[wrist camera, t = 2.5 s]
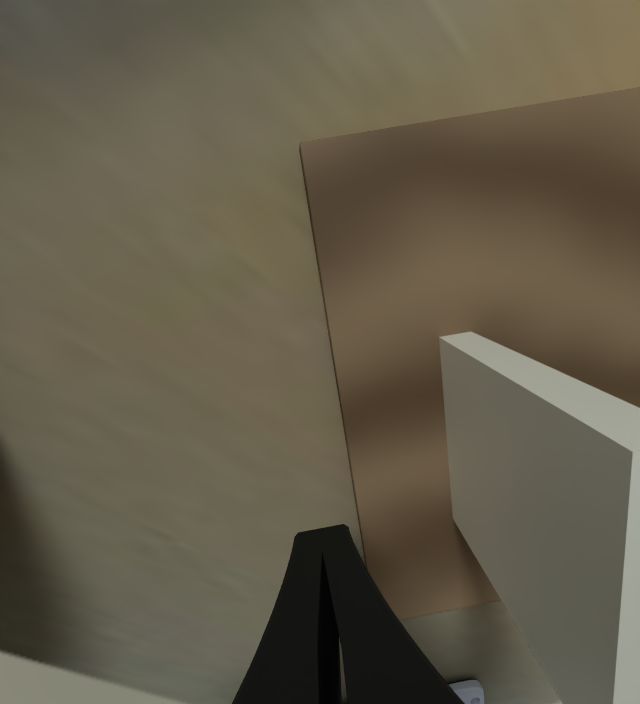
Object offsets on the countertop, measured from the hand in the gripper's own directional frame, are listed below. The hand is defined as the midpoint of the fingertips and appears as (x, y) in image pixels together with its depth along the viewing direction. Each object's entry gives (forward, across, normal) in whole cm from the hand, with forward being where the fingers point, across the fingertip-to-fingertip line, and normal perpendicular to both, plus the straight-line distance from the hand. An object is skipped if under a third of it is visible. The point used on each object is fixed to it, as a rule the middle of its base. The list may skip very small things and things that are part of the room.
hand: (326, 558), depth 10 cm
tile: (+5, -6, 0) cm, 8 cm away
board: (+6, -9, -1) cm, 11 cm away
